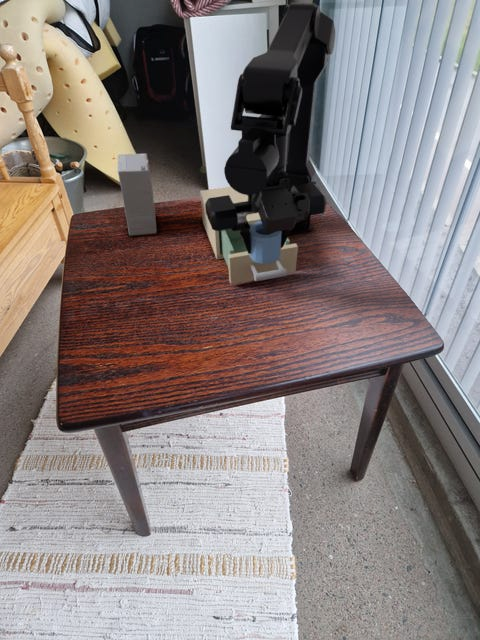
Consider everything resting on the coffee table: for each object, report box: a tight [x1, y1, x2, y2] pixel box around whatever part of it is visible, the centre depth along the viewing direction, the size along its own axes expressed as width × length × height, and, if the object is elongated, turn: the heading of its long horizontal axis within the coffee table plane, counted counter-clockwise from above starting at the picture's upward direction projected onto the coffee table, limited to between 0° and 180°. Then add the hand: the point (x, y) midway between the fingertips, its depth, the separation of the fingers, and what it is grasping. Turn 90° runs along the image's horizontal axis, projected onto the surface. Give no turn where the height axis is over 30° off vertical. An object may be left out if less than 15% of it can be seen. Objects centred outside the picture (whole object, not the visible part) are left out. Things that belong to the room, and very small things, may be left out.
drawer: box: [219, 224, 299, 285], centre depth 84 cm, size 19×13×6 cm
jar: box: [249, 221, 282, 264], centre depth 72 cm, size 5×6×5 cm
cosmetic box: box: [117, 153, 157, 237], centre depth 94 cm, size 8×7×16 cm
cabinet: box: [199, 186, 261, 260], centre depth 93 cm, size 16×15×8 cm
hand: (264, 249), depth 73 cm, fingers closed on jar, 5 cm apart
